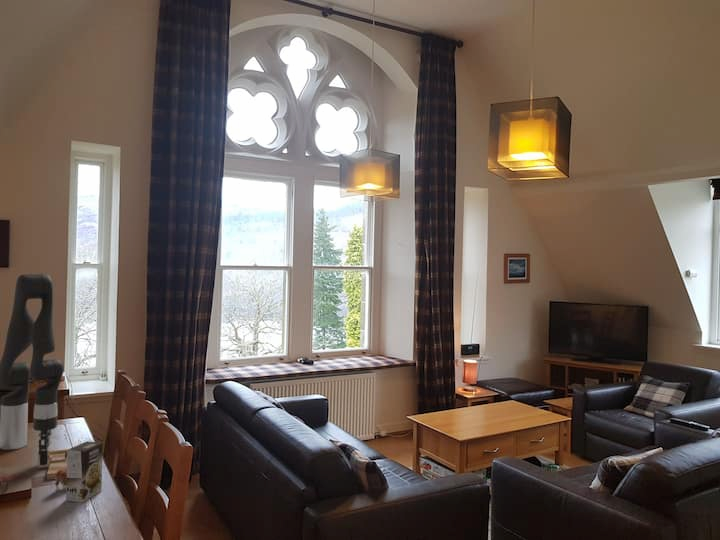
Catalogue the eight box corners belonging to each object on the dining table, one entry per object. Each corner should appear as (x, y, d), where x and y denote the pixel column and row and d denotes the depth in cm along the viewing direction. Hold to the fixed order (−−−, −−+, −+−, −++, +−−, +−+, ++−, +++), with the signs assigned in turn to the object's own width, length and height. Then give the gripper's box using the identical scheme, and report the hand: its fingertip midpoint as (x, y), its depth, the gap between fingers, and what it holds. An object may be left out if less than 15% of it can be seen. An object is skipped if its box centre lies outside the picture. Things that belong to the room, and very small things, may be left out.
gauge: (39, 464, 200) (39, 447, 200) (69, 461, 204) (69, 445, 204) (37, 468, 197) (38, 451, 197) (68, 464, 201) (69, 448, 201)
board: (53, 456, 209) (53, 451, 209) (70, 455, 211) (70, 449, 211) (46, 479, 187) (46, 473, 187) (64, 477, 189) (65, 471, 189)
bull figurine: (93, 479, 189) (94, 455, 189) (60, 494, 176) (61, 468, 176) (83, 477, 190) (84, 453, 190) (50, 492, 177) (50, 466, 177)
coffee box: (83, 503, 170) (84, 451, 170) (64, 500, 171) (66, 449, 171) (102, 491, 179) (103, 442, 179) (85, 489, 180) (86, 440, 180)
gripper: (36, 411, 204) (34, 457, 204) (30, 421, 191) (29, 470, 191) (59, 409, 207) (57, 454, 207) (55, 419, 194) (53, 468, 194)
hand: (44, 462), depth 199 cm, fingers closed on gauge, 4 cm apart
